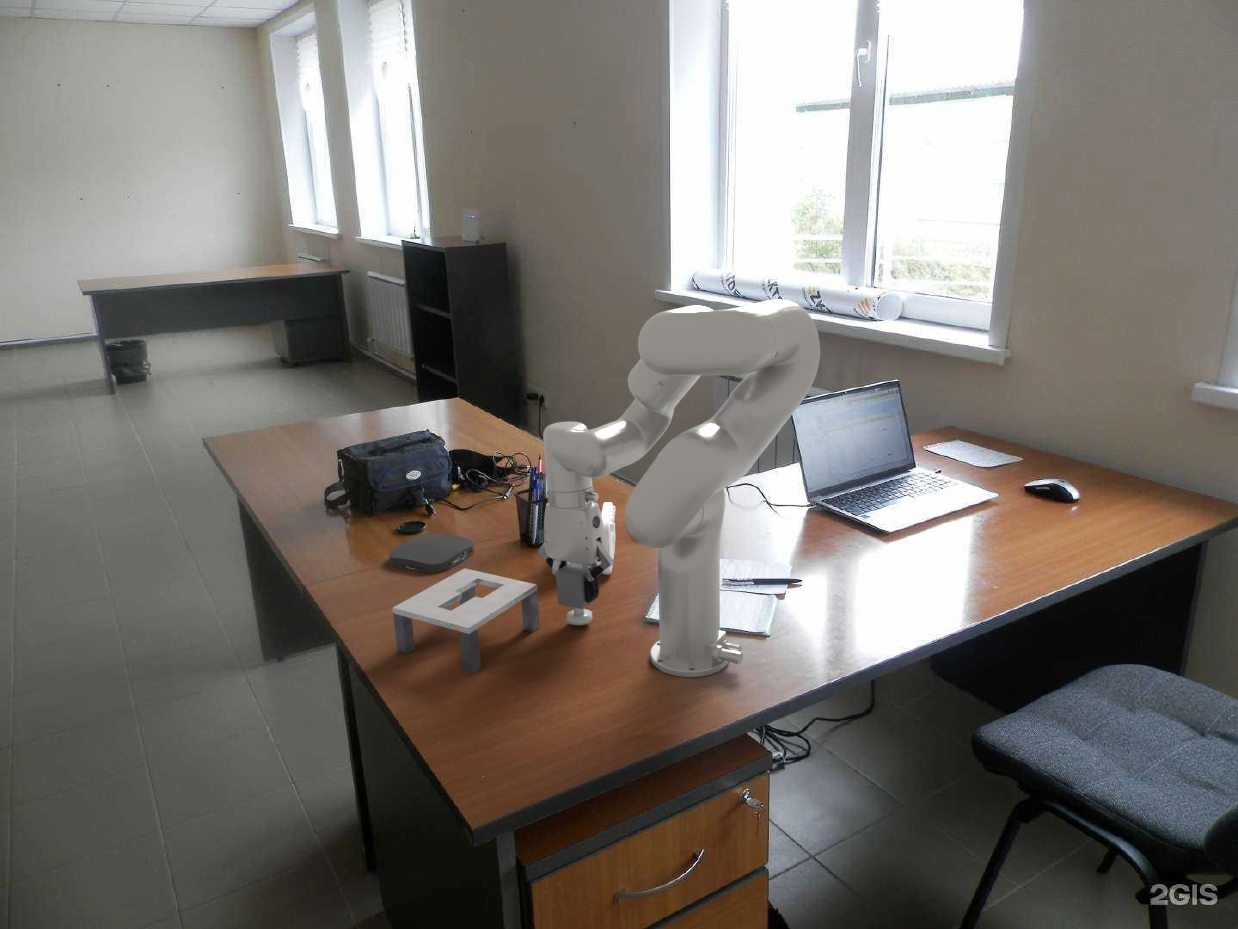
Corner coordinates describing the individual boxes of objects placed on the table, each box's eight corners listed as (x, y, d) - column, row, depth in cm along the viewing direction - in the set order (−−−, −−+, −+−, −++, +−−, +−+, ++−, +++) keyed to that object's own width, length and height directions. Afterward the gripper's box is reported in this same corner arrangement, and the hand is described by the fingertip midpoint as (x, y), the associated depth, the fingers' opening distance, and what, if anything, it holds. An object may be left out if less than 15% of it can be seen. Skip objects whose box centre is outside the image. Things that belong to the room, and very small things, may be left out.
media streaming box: (426, 542, 197) (425, 529, 196) (481, 551, 191) (480, 538, 190) (382, 566, 185) (380, 553, 184) (440, 577, 178) (438, 563, 177)
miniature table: (539, 627, 155) (536, 584, 153) (472, 674, 140) (468, 628, 138) (468, 608, 163) (464, 568, 161) (397, 651, 148) (392, 607, 146)
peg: (599, 616, 156) (596, 565, 153) (583, 628, 152) (580, 576, 149) (575, 611, 158) (571, 561, 156) (559, 622, 154) (555, 571, 152)
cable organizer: (567, 551, 188) (564, 499, 185) (617, 550, 188) (615, 498, 184) (559, 581, 174) (556, 524, 170) (613, 580, 173) (611, 523, 170)
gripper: (626, 495, 148) (631, 597, 153) (542, 484, 156) (550, 581, 161) (602, 509, 142) (608, 614, 147) (516, 497, 150) (525, 597, 155)
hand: (577, 595), depth 154 cm, fingers closed on peg, 5 cm apart
